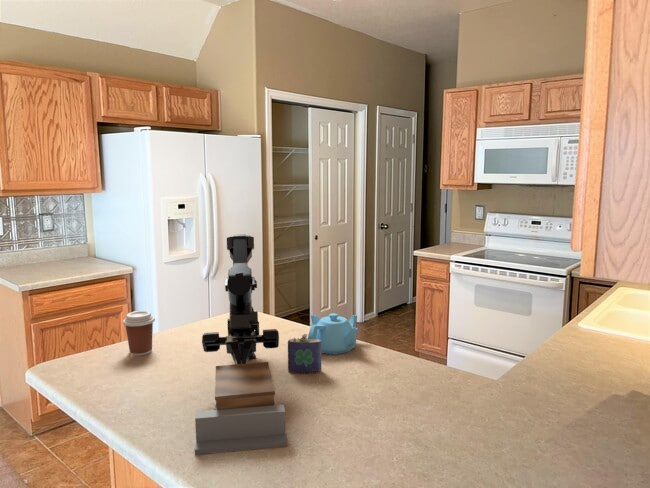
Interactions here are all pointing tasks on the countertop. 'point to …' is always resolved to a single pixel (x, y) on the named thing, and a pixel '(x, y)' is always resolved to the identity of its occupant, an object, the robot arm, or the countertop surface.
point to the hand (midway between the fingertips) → (241, 372)
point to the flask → (304, 355)
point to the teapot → (334, 333)
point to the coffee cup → (139, 332)
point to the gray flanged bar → (240, 429)
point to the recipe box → (244, 386)
